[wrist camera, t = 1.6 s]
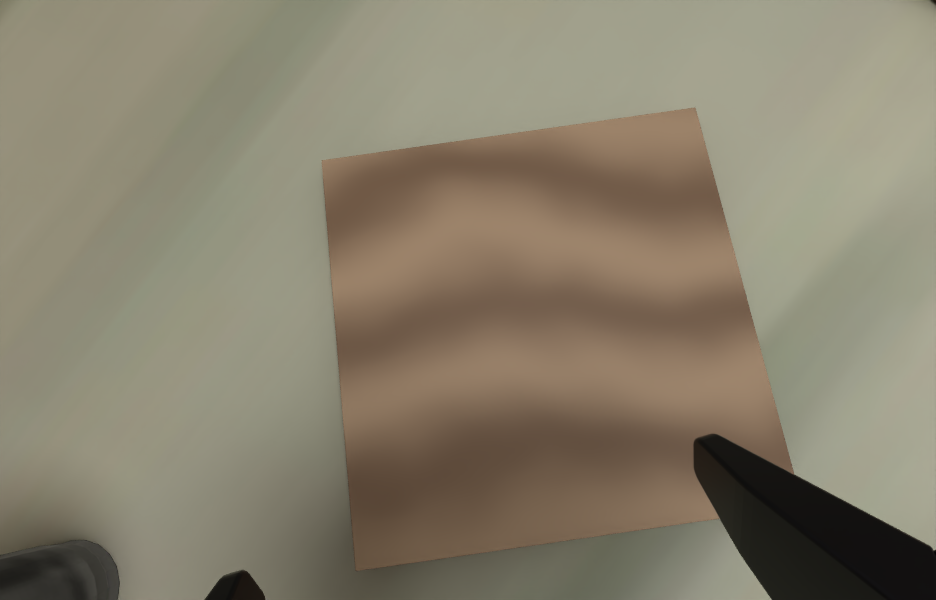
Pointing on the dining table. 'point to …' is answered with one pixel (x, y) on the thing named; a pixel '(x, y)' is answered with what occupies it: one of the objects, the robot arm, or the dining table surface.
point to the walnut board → (537, 337)
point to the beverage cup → (59, 573)
